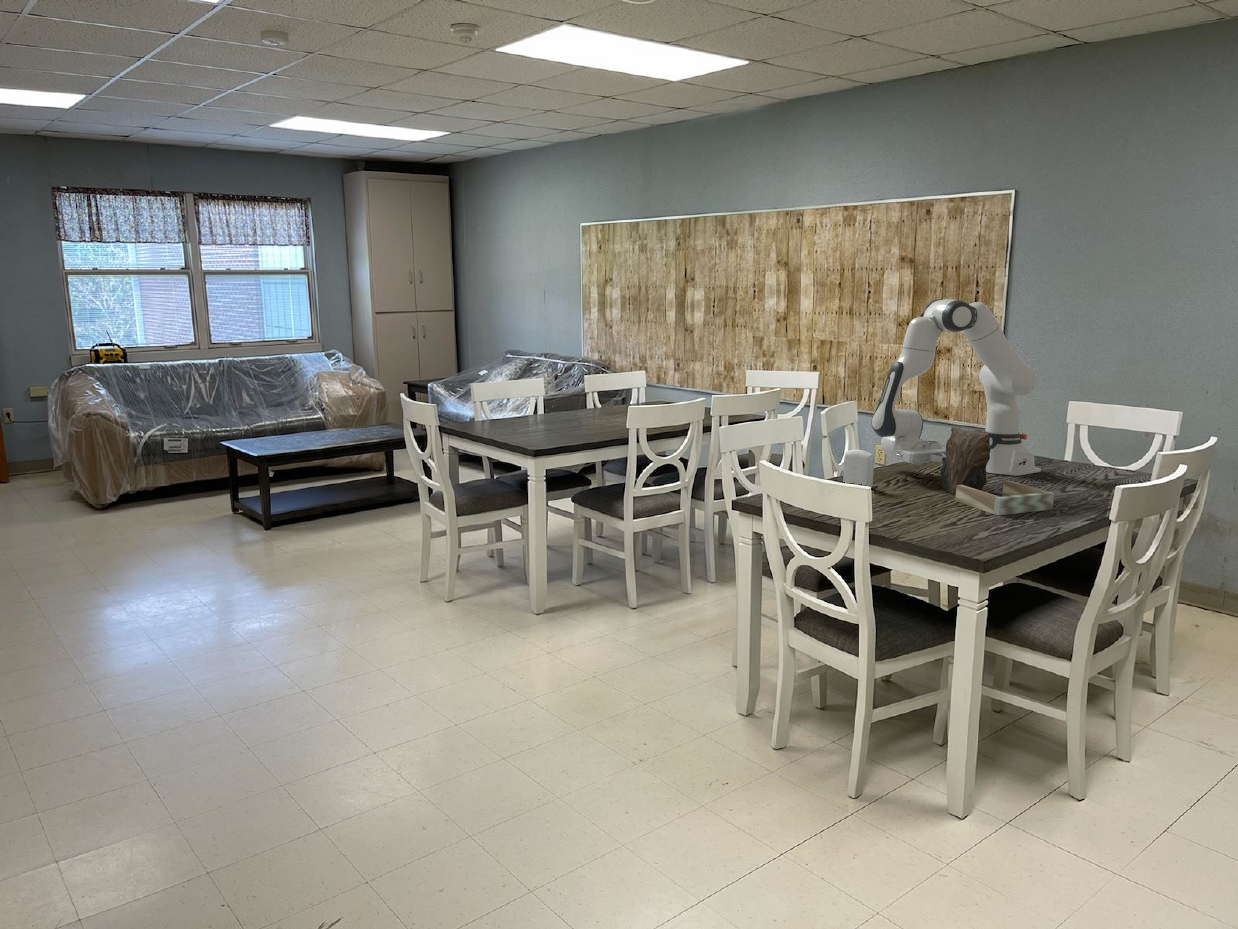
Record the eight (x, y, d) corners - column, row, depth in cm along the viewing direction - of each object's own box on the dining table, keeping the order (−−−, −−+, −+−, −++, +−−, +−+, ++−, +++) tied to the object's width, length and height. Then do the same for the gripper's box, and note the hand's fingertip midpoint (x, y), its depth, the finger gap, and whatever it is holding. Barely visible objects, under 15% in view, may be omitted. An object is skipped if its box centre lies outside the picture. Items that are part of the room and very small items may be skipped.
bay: (1006, 495, 287) (1008, 480, 286) (1052, 509, 270) (1054, 493, 269) (955, 500, 279) (956, 485, 278) (998, 515, 263) (1000, 498, 262)
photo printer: (840, 484, 299) (843, 448, 296) (848, 483, 301) (851, 446, 299) (866, 490, 291) (869, 453, 288) (874, 488, 294) (877, 451, 291)
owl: (937, 485, 299) (942, 426, 295) (975, 485, 299) (981, 426, 295) (951, 494, 287) (957, 433, 283) (990, 495, 287) (997, 433, 283)
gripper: (893, 444, 305) (920, 452, 292) (941, 441, 312) (970, 448, 300) (891, 462, 306) (918, 471, 294) (939, 458, 314) (968, 466, 301)
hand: (945, 459), depth 297 cm, fingers closed
